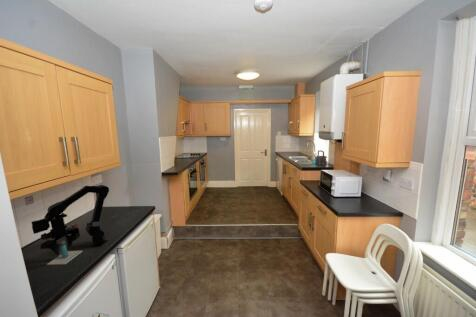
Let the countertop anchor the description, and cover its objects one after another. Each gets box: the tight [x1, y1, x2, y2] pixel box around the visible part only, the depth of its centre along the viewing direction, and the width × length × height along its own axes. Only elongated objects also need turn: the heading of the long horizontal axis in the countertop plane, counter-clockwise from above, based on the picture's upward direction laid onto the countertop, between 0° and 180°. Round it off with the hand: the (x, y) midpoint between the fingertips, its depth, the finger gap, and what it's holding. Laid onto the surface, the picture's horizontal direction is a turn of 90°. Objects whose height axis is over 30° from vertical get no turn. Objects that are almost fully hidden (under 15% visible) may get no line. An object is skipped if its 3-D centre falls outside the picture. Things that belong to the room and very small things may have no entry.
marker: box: [57, 239, 69, 259], centre depth 118 cm, size 3×3×10 cm
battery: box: [66, 223, 81, 242], centre depth 141 cm, size 4×7×10 cm, turn 16°
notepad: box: [46, 250, 83, 266], centre depth 119 cm, size 12×11×1 cm
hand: (63, 250), depth 118 cm, fingers open, 8 cm apart
